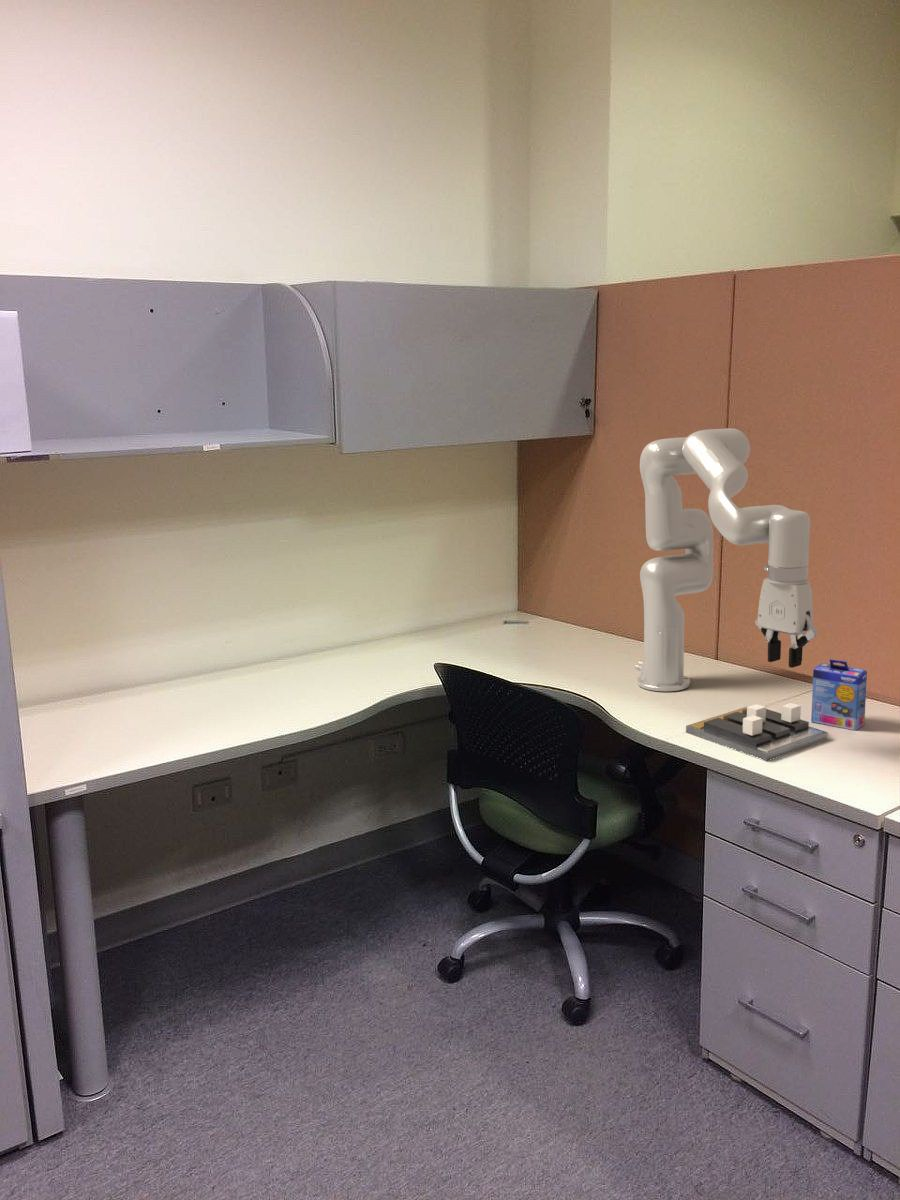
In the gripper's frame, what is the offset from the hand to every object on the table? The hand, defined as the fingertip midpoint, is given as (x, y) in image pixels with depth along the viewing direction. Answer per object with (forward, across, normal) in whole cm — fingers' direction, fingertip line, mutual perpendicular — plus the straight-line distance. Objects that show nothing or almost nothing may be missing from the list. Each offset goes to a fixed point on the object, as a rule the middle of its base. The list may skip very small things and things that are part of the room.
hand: (784, 662), depth 201 cm
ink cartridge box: (+18, 0, +19) cm, 26 cm away
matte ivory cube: (+14, -6, 0) cm, 15 cm away
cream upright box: (+14, -3, -6) cm, 15 cm away
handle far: (+14, -3, +6) cm, 15 cm away
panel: (+17, -6, 0) cm, 19 cm away
